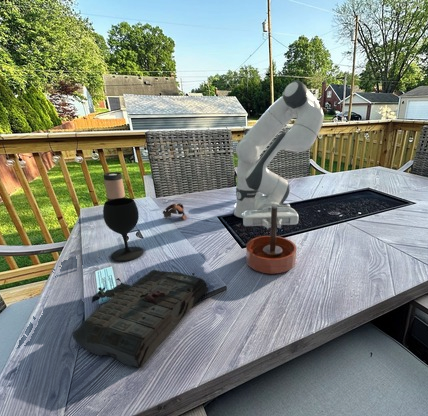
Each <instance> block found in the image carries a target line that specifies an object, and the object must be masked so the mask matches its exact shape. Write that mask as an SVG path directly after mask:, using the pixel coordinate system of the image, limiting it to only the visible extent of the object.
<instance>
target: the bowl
mask: <svg viewBox="0 0 428 416" xmlns="http://www.w3.org/2000/svg"><path fill="white" fill-rule="evenodd" d="M267 245H270V235H262V236H257V237H254V238H251V239H250V240H249V241H247V243H246V245H245V261H246V262H245V263H246V264H247V265H248V267H249V268H251V269H252V270H253V271H256V272H259V273H264V274H271V275H273V274H274V275H275V274H281V273H286V272H288V271H289V270H291V269H292V268H294V266H295V265H296V259H297V249H298V247H297V245H296V243H294V241H292V240H291V239H288V238H286V237H282V236H279V235H278V236H277V235H276V245H277V246H279V247H281V248H282V255H281V256H279V257H274V258H273V257H267V256H265V255H264V254H263V248H264V247H265V246H267Z"/></svg>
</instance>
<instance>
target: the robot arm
mask: <svg viewBox="0 0 428 416" xmlns="http://www.w3.org/2000/svg"><path fill="white" fill-rule="evenodd" d="M307 87H308V86H307V85H306V84H304V83H303V82H302V81H301V80H293V81H291V82H289V83H288V84H287V85H286V86H285V87H284V89H283V92H282V96H280V97H279V98H278V99H277V100H275V101H274V102H273V103H272V104H271V105H270V106H269V107H268V108H267V109H266V110H265V112H264V113H263V114H262V115H261V116H260V117H259V119H258V120H257V121H256V122H255V123H254V125H253V126H252V127H251V128H250V129H249V130H248V131H247V132H246V133H245V135H244V136H243V137H242V138H241V139H240V140H239V141H238V142H237V144H236V146H235V154H236V157H237V167H236V168H237V169H236V187H235V198H236V202H235V204H234V211H233V215H234V216H235V217H237V218H240V219H242V224H243V226H245V227H265V228H266V229H267V230H271V208H272V206H277V207H278V208H277V228H276V229H282V226H290V225H291V226H293V225H298V224H299V220H300V219H299V217H300V216H299V214H298V211H296V210H295V209H294V208H292V207H291V204H290V203H285V202H286V201H287V199H288V197H289V195H290V189H291V188H290V182H289V180H287V179H285V178H284V177H282V176H280V175H279V174H276V173H275V172H273V171H272V170H270V169H269V168H268V166H269V164H270V163H271V162H272V161H273V159H274V158H275V157H276V155H277V154H278V153H279V152H280V151H289V152H294V153H303V152H306V151H309V150H310V149H311V148H312V147H313V145H314V144H315V142H316V139H317V137H318V136H319V134H320V131H321V129H322V126H323V122H324V119H325V114H324V110H323V107H322V105H321V104H320V103H319V101H318V100H317V99H318V98H316V96H315V95H314V94H313V93H312V92H311V91H310V90H309V88H307ZM293 119H295V121H294V123H293V124H292V126H291V128H290V129H289V130H287V131H286V132H281V131H282V130H283V129H284V128H285V127H286V126H287V125H288V123H290V121H291V120H293Z"/></svg>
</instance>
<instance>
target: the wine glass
mask: <svg viewBox="0 0 428 416" xmlns="http://www.w3.org/2000/svg"><path fill="white" fill-rule="evenodd" d="M102 217H103V221H104V223H105V225H106V226H107V228H108V229H110V231H112V232H115V233H116V234H118V235H119V234H120V235H121V236H122V239H123V243H124V247H122V248H119V249H116V250H115V251H114V252H112V253H111V255H110V259H111V260H112V261H114V262H119V263H125V262H130V261H134V260H136V259H138V258H140V257H142V255H143V254H144V249H143V248H142V247H140V246H129V243H128V234H129V233H130V232H132V231H133V230H134V229H135V228H136V226H137V225H138V222H139V217H140V215H139V209H138V206H137V203H136V201H135V199H133V198H131V197H125V198H116V199H111V200H106V201H104V203H103V209H102Z"/></svg>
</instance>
